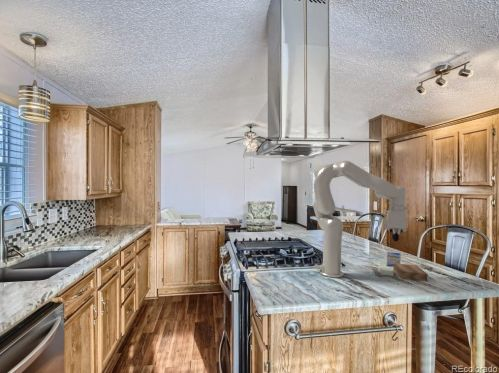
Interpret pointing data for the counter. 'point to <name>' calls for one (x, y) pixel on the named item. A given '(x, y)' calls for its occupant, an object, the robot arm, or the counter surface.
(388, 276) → the mat
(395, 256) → the medicine box
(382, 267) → the card
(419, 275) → the brown curved piece
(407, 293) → the counter surface
